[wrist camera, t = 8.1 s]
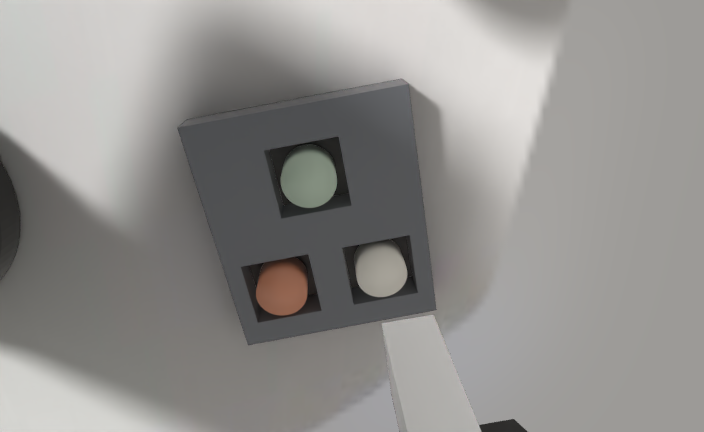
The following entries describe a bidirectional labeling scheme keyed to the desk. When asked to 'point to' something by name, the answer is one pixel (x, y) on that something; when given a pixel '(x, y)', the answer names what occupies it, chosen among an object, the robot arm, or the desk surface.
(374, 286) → the cream button
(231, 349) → the desk surface
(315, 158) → the sage button
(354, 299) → the panel
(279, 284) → the rust button
